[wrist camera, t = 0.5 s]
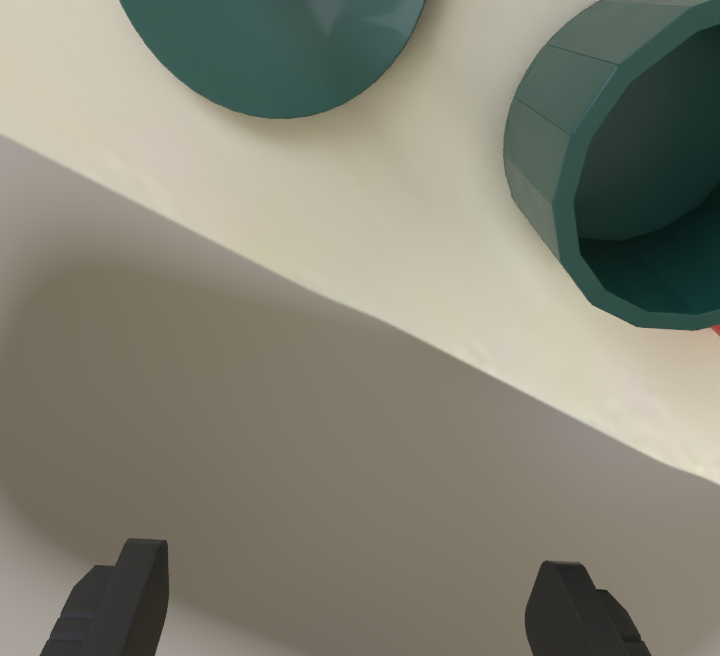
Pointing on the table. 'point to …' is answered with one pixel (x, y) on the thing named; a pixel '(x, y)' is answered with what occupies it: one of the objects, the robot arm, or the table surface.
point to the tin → (627, 158)
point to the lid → (276, 48)
